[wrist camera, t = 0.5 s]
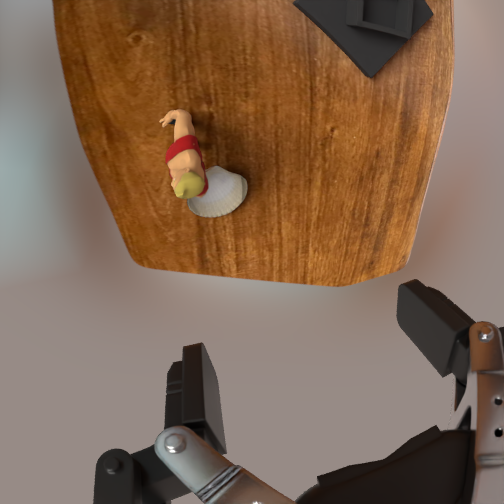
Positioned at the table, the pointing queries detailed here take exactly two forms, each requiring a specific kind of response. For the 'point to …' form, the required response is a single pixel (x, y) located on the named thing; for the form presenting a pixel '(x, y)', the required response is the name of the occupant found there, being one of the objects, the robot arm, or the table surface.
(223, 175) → the scallop shell
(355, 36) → the socket pad
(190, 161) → the action figure
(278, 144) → the table surface
